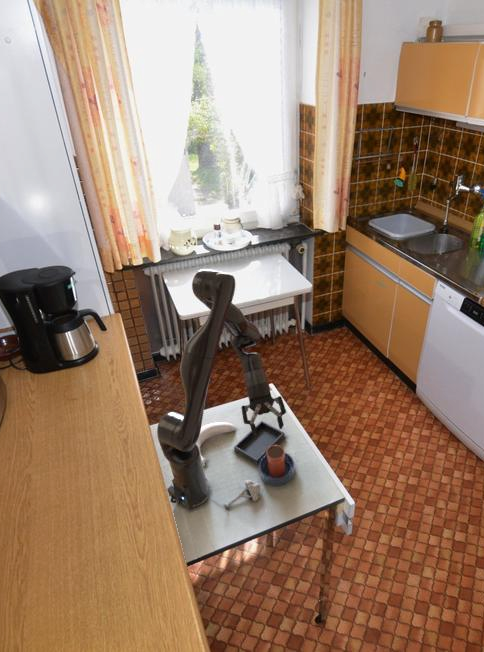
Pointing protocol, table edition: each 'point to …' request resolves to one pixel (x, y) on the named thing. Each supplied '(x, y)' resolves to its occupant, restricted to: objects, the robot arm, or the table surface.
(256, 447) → the tray
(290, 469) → the bowl
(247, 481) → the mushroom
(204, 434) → the banana
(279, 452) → the cup
